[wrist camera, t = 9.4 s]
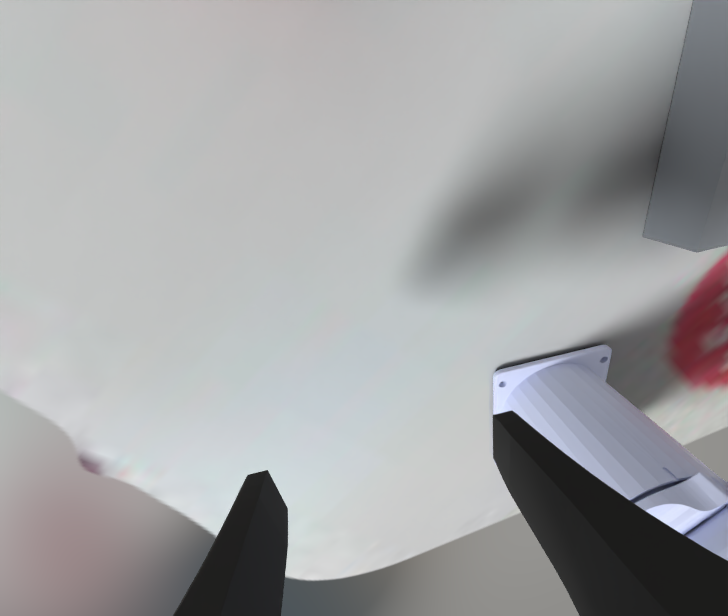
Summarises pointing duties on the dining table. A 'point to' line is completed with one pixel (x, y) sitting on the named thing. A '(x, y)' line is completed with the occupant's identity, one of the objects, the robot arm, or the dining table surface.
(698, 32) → the slate base
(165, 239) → the dining table surface
